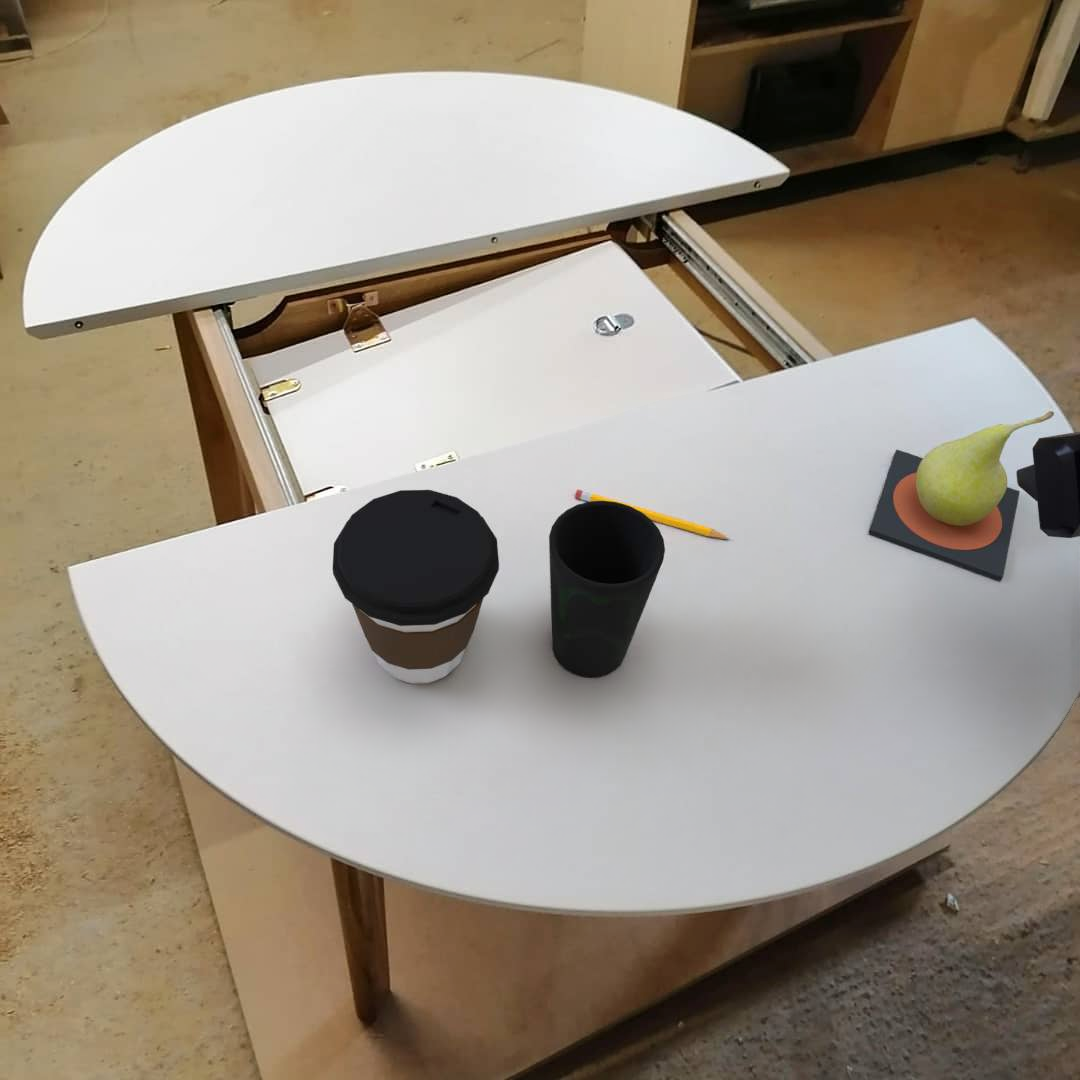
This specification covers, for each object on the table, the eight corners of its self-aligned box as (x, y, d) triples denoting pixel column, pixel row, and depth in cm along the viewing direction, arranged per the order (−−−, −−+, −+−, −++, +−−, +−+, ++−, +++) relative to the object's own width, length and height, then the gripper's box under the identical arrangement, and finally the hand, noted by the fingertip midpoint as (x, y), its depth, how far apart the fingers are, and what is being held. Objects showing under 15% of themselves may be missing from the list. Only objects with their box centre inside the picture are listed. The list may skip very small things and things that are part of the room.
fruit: (898, 478, 88) (949, 372, 79) (983, 487, 88) (1044, 381, 79) (911, 535, 84) (966, 429, 75) (1001, 544, 84) (1067, 440, 75)
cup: (641, 612, 78) (666, 506, 69) (638, 696, 73) (664, 594, 64) (542, 600, 78) (554, 493, 69) (532, 683, 73) (543, 580, 64)
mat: (1017, 495, 89) (1020, 490, 88) (1000, 581, 82) (1003, 576, 82) (894, 453, 91) (896, 448, 91) (867, 534, 85) (870, 528, 84)
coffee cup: (399, 570, 79) (392, 461, 70) (521, 629, 76) (530, 523, 67) (314, 670, 72) (294, 564, 63) (443, 739, 69) (442, 638, 60)
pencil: (577, 493, 86) (577, 487, 85) (730, 538, 83) (732, 532, 83) (574, 499, 85) (575, 494, 85) (728, 544, 83) (730, 539, 82)
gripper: (1402, 303, 58) (1172, 338, 73) (1132, 341, 54) (948, 370, 69) (1413, 495, 59) (1184, 491, 74) (1149, 546, 55) (964, 531, 70)
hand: (1074, 467), depth 72 cm, fingers open, 9 cm apart
